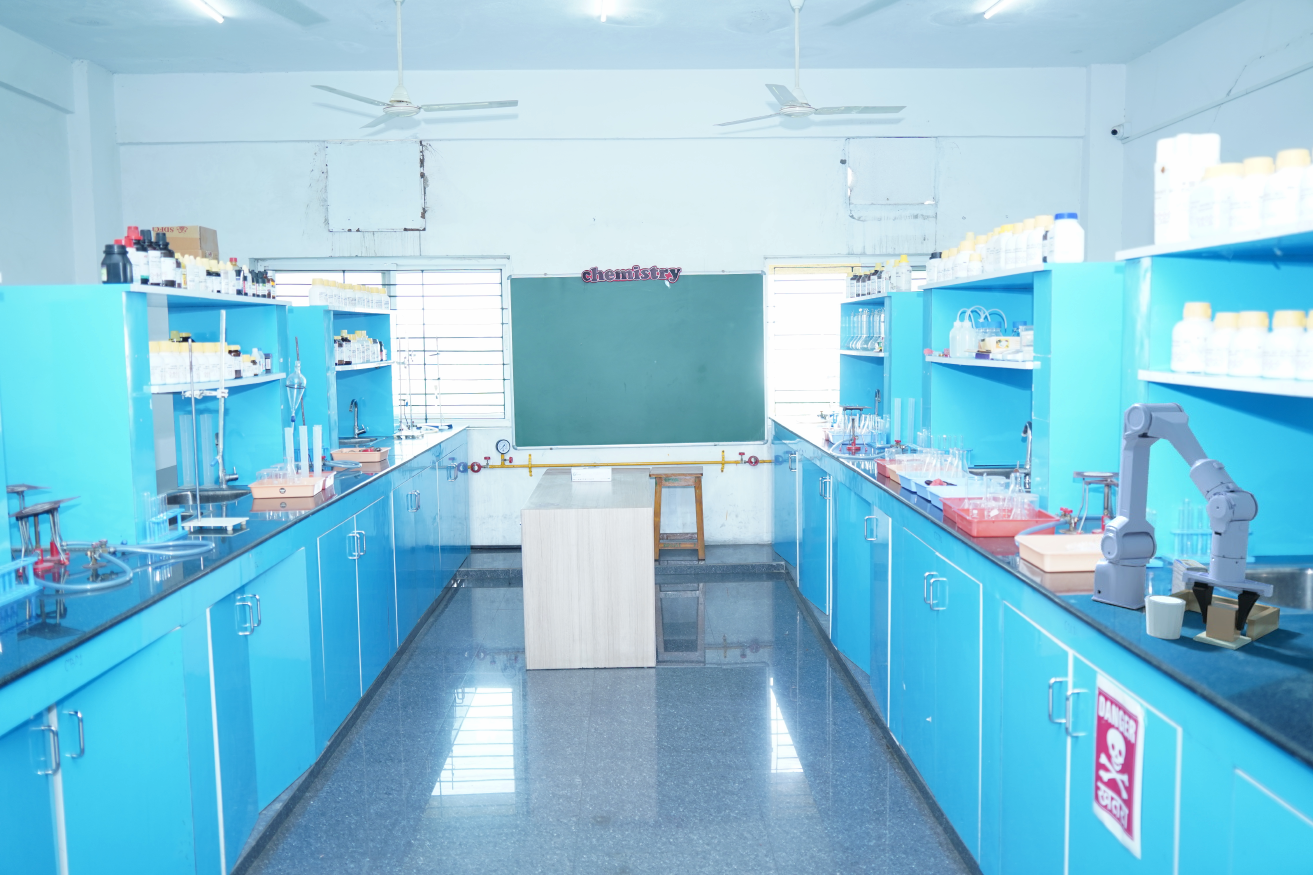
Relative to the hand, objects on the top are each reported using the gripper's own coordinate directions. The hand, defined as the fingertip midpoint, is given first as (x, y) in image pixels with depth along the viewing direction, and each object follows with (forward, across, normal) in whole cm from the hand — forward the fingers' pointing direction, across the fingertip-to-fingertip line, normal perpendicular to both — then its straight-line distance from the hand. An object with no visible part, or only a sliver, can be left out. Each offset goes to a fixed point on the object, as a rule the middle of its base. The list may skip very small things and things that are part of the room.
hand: (1223, 625), depth 172 cm
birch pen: (+3, +4, -11) cm, 12 cm away
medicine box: (+3, +13, -24) cm, 28 cm away
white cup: (+3, +9, +4) cm, 10 cm away
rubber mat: (+3, 0, 0) cm, 3 cm away
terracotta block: (+2, 0, 0) cm, 2 cm away
